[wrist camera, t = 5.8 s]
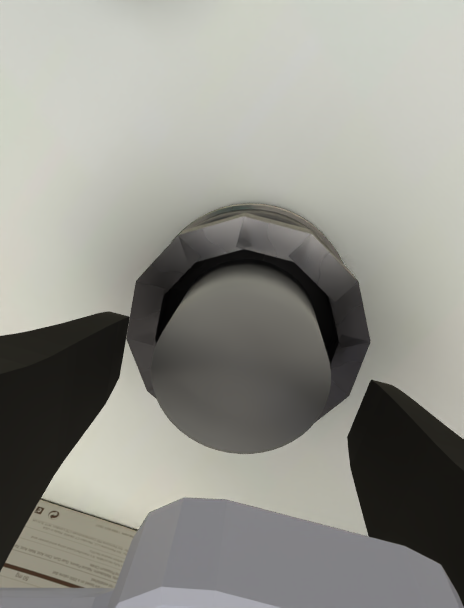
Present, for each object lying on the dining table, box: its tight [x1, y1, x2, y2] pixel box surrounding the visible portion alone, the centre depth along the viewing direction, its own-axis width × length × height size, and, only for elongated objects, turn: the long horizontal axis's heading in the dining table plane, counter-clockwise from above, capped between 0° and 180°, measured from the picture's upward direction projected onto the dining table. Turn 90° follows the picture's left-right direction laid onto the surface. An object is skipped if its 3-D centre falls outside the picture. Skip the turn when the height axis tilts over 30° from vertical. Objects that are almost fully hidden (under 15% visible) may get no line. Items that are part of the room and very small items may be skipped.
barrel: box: [126, 203, 370, 421], centre depth 17 cm, size 8×8×5 cm
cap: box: [151, 259, 331, 454], centre depth 13 cm, size 5×5×4 cm
